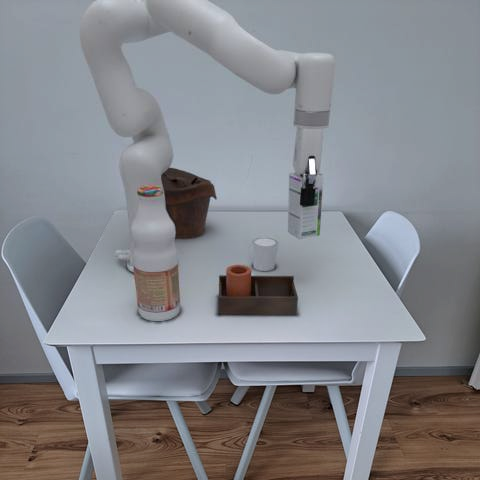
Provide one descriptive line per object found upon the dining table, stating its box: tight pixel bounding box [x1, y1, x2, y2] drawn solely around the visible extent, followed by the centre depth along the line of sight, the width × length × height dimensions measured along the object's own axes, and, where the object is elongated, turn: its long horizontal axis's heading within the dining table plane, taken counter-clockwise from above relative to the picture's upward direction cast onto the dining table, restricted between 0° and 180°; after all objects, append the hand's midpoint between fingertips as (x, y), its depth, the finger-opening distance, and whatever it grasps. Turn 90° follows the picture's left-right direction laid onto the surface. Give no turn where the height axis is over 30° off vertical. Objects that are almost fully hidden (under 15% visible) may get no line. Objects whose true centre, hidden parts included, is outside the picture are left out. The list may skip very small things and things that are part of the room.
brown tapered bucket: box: [161, 167, 218, 239], centre depth 148 cm, size 18×20×18 cm
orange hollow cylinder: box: [225, 264, 252, 296], centre depth 112 cm, size 6×6×9 cm
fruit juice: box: [131, 185, 181, 322], centre depth 104 cm, size 9×9×28 cm
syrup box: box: [287, 171, 324, 240], centre depth 115 cm, size 6×6×14 cm
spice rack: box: [218, 274, 299, 316], centre depth 113 cm, size 17×9×6 cm, turn 91°
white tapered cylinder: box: [251, 237, 279, 272], centre depth 130 cm, size 7×7×7 cm
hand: (304, 199), depth 115 cm, fingers closed on syrup box, 7 cm apart
